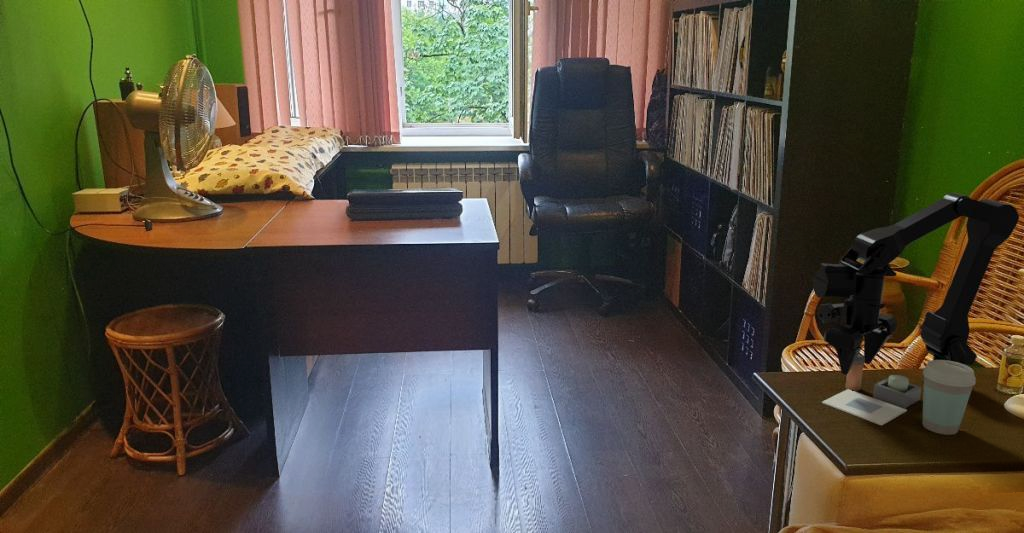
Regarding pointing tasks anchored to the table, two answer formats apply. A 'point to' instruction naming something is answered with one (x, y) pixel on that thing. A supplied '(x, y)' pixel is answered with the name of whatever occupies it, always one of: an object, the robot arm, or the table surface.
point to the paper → (864, 407)
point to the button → (898, 383)
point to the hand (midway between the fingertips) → (855, 368)
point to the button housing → (896, 394)
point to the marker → (855, 374)
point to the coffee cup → (945, 395)
